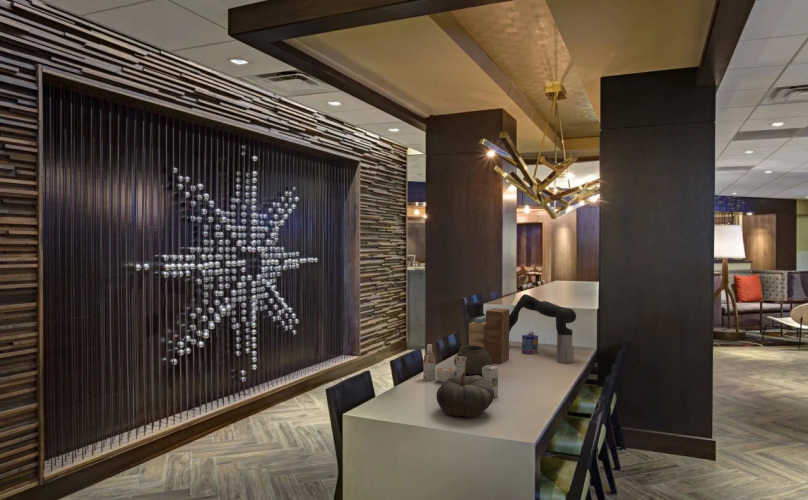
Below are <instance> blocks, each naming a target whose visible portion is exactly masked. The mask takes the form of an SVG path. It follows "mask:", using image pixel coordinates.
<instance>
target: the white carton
mask: <svg viewBox="0 0 808 500" xmlns="http://www.w3.org/2000/svg"><path fill="white" fill-rule="evenodd" d="M481 377H482V378H483V379H485V380H486V381H487V382H489V383H490V384H491V386H492V388H493V390H494V398H496V397H498V394H499V393H498V392H499V367H498V366H496V365H493V364H492V365H487V366H484V367H482V374H481Z"/></svg>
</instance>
